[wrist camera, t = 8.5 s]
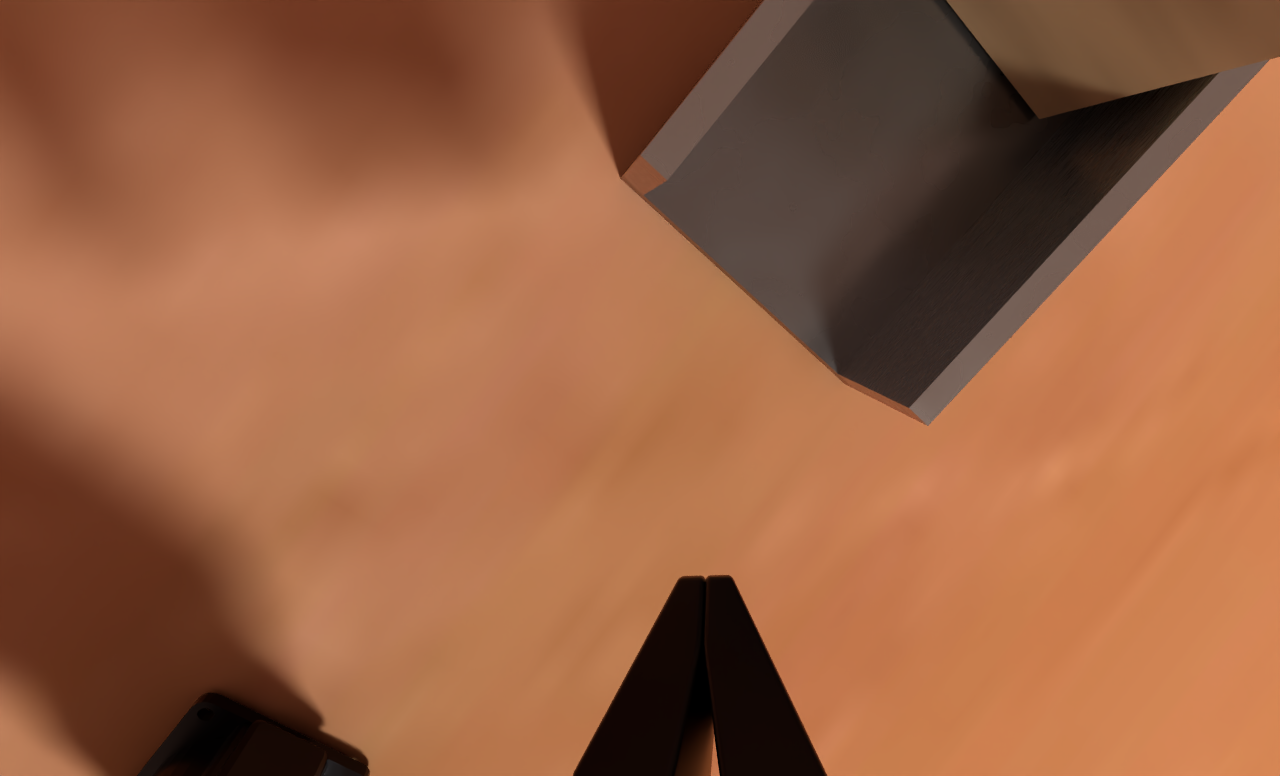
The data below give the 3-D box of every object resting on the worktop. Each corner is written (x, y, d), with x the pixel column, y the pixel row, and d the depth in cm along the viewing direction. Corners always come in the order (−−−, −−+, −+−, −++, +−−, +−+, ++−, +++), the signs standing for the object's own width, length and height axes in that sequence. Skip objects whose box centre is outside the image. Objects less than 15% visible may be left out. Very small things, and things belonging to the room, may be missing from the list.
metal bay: (845, 384, 19) (928, 425, 15) (620, 178, 17) (640, 155, 12) (1290, -110, 17) (1541, -232, 13) (1112, -438, 15) (1351, -734, 10)
